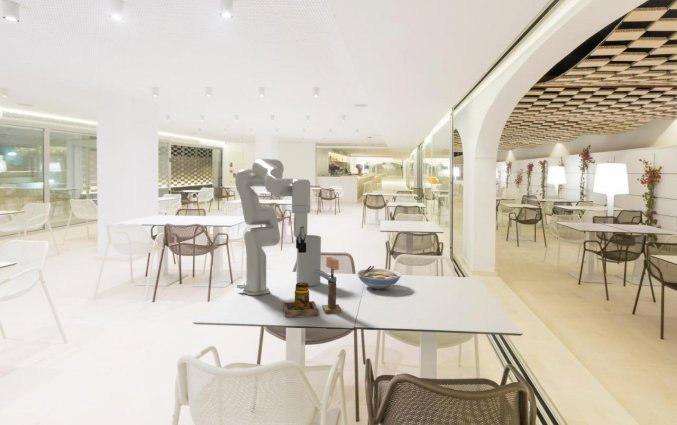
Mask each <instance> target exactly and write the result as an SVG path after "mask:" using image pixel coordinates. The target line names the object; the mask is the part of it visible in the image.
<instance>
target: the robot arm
mask: <svg viewBox="0 0 677 425" xmlns="http://www.w3.org/2000/svg"><path fill="white" fill-rule="evenodd" d="M284 168H285V167H284V164H283V163H282V161H281V160H279V159H276V158H274V159H273V158H271V159H270V158H260V159H259V158H258V159H257V160H255V161H254V162H253V163H252V167H251V168H245V169H241V170H238V171H237V173H236V174H235V178H234V179H235V180H234V183H235V188H236V191H237V192H238V193H237V194H238V195H239V198H240V203H241V209H242V214H243V219H244V222H245V224H246V225H248V226H255V227H251V228H250V227H249V228H248V229H247V230H246V231H245V232H244V235H243V236H244V237H243V238H244V244H245V253H246V254H245V255H246V258H245V259H246V260H245V261H246V264H245V265H246V270H245V271H246V281H245V283H238V284H236V288H237V289H239V290H242V289H243V291H242V292H243V294H244V295H249V296H261V295H266V294H269V293H270V288H269V287H267V254H266V252H265V251H264V249H263V248H264V247H272V246H276V245H278V244H279V243H280V240H281V233H280V228H279V221H278V217H277V212H276V210H275V209H274V207H273V206H272V205H262V204H261V203H260V199H259V195H258V194H257V193H256V192H257V191H255V190H254V189H253V187H265V190H266V192H267V191H268V192H269V193H270V194H271V195H273V196H275V197H280V198H281V197H291V214H294V215H293V236H294V237H295V249H296V250H297V249H298V252H299V253H306V237H307V235H308V214H311V181H310V180H309V179H306V178H305V179H304V178H303V179H300V178H286V177H284V178H283V174H284V170H285V169H284ZM257 226H259V227H257Z"/></svg>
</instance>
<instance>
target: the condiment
mask: <svg viewBox="0 0 677 425" xmlns="http://www.w3.org/2000/svg"><path fill="white" fill-rule="evenodd" d="M309 301H310V290H309V286H308V283H304V282H300V283H297V282H296V284H295V290H294V302H295V307H293V308H292V309H290V310H309V309H310V308H309Z"/></svg>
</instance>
